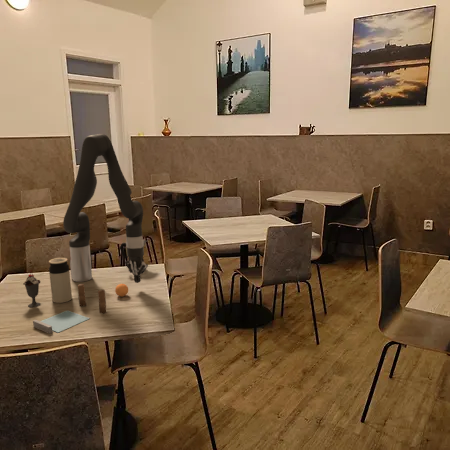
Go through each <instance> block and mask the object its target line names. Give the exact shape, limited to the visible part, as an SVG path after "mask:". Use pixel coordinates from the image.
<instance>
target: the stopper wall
mask: <svg viewBox="0 0 450 450" xmlns="http://www.w3.org/2000/svg"><path fill="white" fill-rule="evenodd" d="M40 321H41V320H37V319H34V320H32V324H33V325H32V327H33V328H35V329H37V330H40V331H42V332H45V333H46V334H49V335H50V334H52V333H53V331H52V326H50V325H48V324H45V323H43V322H40Z"/></svg>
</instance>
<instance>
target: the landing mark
mask: <svg viewBox="0 0 450 450" xmlns="http://www.w3.org/2000/svg"><path fill="white" fill-rule="evenodd" d="M90 319H91V318H90V317H88V316H84V315H82V314H79V313H76V312H73V311H70V310H65V311H63V312H60V313H57V314H55V315H53V316H50V317H48V318H45V319H42V320H39V321H40V322H43V323H45V324H48V325H50V326H52V332H55V333H57V334H58V333H60V332H63V331H65V330H68V329H69V328H73V327H75V326H77V325H79V324H81V323H83V322H86V321H88V320H90Z"/></svg>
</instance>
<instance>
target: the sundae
mask: <svg viewBox="0 0 450 450" xmlns="http://www.w3.org/2000/svg"><path fill="white" fill-rule="evenodd" d="M29 271H30V273H29V274H28V276H27V278H26V279H25V281H24V282H23V284H22V286H25V287H24V288H25V290H26V293H27V296H28V297H30V298H31V303H29V304H27V307H28V308H37V307H39V306H41V304H42V303H41V302H37V301H36V297H38V295H39V292H40V291H39V289H40V288H39V286H40V284H41V280H40V279H37V278H36V277H35V275H34V274H33V270H32V269H30V270H29Z"/></svg>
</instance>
